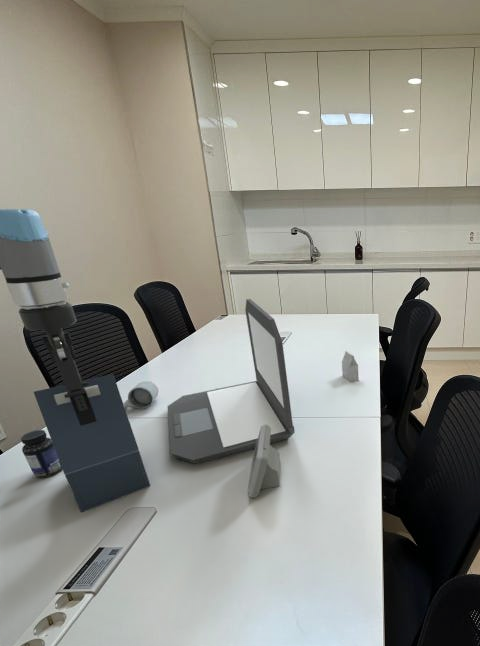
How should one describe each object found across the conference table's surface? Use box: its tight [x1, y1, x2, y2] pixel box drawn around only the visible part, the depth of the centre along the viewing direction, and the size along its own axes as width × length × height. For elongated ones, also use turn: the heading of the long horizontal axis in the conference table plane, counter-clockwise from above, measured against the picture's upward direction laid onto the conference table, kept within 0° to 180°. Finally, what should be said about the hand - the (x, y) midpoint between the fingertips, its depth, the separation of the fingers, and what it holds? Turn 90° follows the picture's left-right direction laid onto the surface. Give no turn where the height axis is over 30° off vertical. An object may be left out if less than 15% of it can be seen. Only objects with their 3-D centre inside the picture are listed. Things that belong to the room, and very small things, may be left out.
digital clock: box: [247, 425, 282, 499], centre depth 92 cm, size 16×9×11 cm, turn 0°
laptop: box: [167, 298, 295, 464], centre depth 113 cm, size 43×31×34 cm
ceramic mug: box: [123, 380, 159, 410], centre depth 131 cm, size 11×8×8 cm
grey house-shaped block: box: [341, 350, 360, 383], centre depth 147 cm, size 4×7×10 cm, turn 27°
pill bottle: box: [20, 429, 63, 479], centre depth 96 cm, size 6×6×11 cm
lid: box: [33, 373, 140, 475], centre depth 79 cm, size 18×14×9 cm
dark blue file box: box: [64, 449, 151, 513], centre depth 92 cm, size 17×14×10 cm
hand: (87, 420), depth 78 cm, fingers closed on lid, 2 cm apart
